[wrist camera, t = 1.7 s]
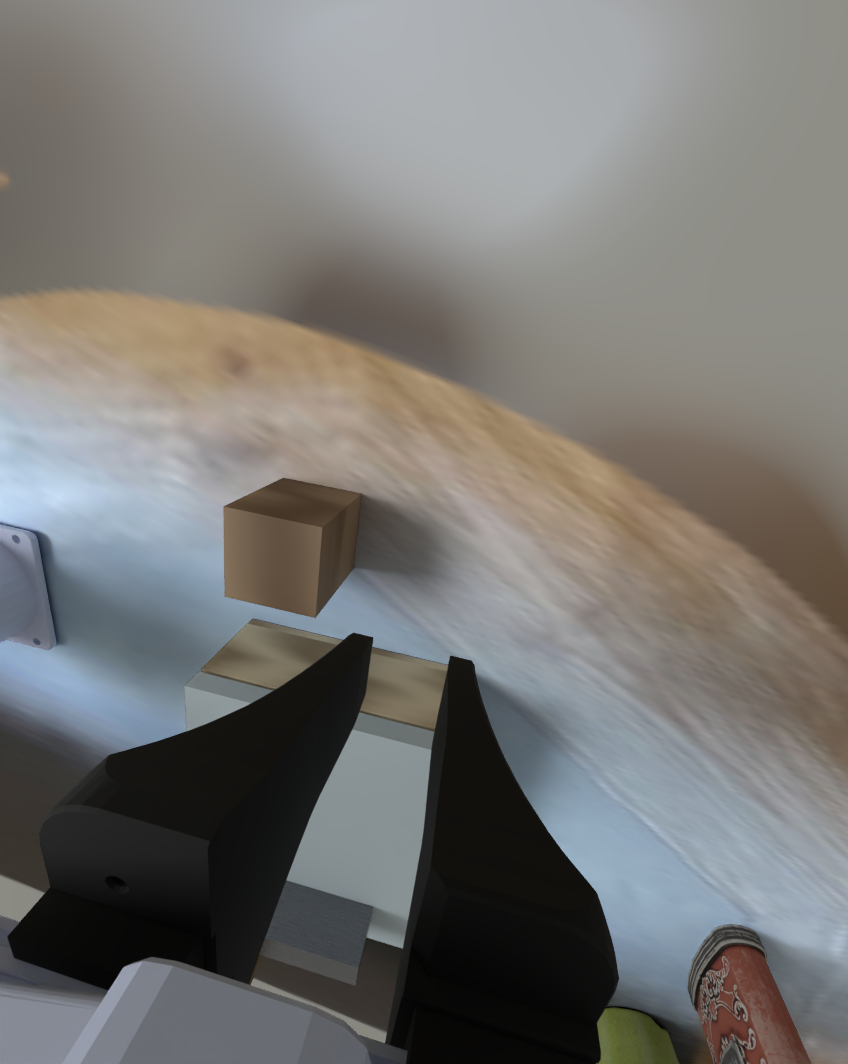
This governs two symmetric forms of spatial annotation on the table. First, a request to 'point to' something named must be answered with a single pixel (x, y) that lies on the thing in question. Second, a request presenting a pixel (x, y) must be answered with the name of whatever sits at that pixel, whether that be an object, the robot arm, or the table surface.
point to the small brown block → (290, 545)
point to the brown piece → (285, 652)
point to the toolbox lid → (343, 839)
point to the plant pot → (633, 1039)
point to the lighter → (741, 1001)
